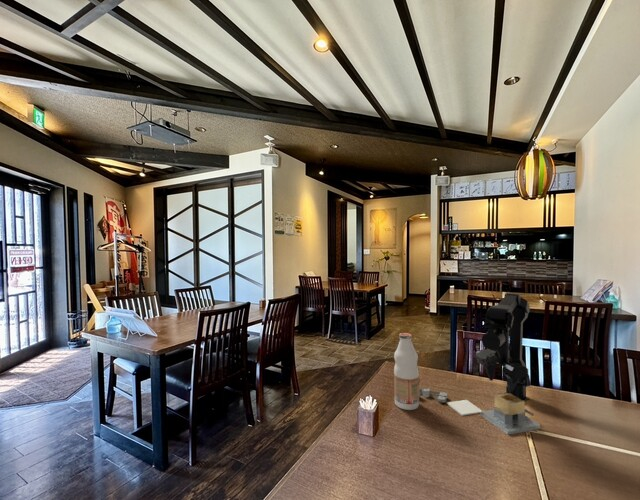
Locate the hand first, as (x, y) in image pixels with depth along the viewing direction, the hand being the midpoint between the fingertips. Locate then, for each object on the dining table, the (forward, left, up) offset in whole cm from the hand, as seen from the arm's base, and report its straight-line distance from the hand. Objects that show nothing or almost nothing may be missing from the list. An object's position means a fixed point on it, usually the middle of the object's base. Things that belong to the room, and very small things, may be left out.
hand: (500, 385), depth 110 cm
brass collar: (-2, +2, -8) cm, 8 cm away
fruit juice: (+27, -18, -12) cm, 35 cm away
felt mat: (+7, -10, -12) cm, 17 cm away
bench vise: (-2, +2, -12) cm, 12 cm away
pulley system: (+17, -28, -13) cm, 35 cm away
